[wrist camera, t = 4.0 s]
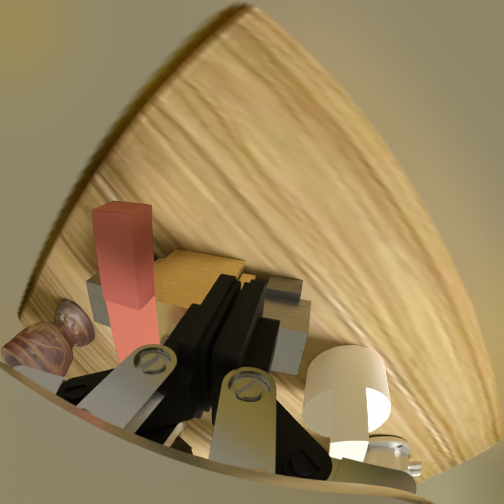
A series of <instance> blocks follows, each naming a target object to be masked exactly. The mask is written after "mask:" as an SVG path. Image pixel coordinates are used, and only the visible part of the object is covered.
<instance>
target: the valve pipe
mask: <svg viewBox="0 0 504 504" xmlns="http://www.w3.org/2000/svg"><path fill="white" fill-rule="evenodd" d="M153 256H154V272H155V286H156V294H155V302H156V312H157V321H158V330H159V338H160V345H163V344H164V343H165V342H166V340H167V339H168V337H169V336H170V334H171V333H172V331H173V330H174V328H175V327H176V326H177V324H178V323H179V321H180V320H181V318H182V317H183V315H184V314H185V313H186V311H187V310H188V308H189V307H190V306H191V304H193V303H195V304H201V303H202V301H203V300H204V298H205V297H206V295H207V294H208V292H209V291H210V289H211V288H212V286H213V285H214V283H215V282H216V280H217V278H218V277H219V275H220V274H227V275H232V276H236V278H237V280H238V281H241V289H242V287H243V285H244V283H245V282H249V283H250V281H251V279H256V276H255V275H249V274H244V271H245V261H244V260H238V259H232V258H226V257H220V256H215V255H209V254H203V253H198V252H192V251H186V250H181V249H175V250H174V251H173V252H172V253H171V254H170V255H168V256H167V257H166V258H165V259H163V258H159V259H157V260H156V261H155V254H153ZM302 283H303V280H297V279H291V278H285V277H279V276H273V275H271V276H270V279H269V281H268V284H267V287H266V294H265V302H264V310H263V317H265V318H271V319H276V320H280V327H279V333H278V339H277V344H276V349H275V354H274V358H273V363H272V367H271V371H276V372H281V373H287V374H292V375H297V374H298V370H299V367H300V363H301V359H302V355H303V351H304V347H305V343H306V339H307V335H308V328H309V318H310V308H311V301H307V300H302V299H300V296H301V290H302ZM86 285H87V290H88V295H89V300H90V304H91V309H92V313H93V317H94V321H95V322H98V323H100V324H103V325H106V326H109V327H111V324H110V320H109V315H108V310H107V305H106V300H104V298H103V293H102V287H101V281H100V275H99V272H98V273H97V274H95V275H94V276H93V277H91V278H90V279H89V280H87V281H86Z"/></svg>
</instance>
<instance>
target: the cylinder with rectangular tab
mask: <svg viewBox="0 0 504 504" xmlns="http://www.w3.org/2000/svg"><path fill="white" fill-rule="evenodd" d="M390 411H391V403H390V396H389V389H388V383H387V377H386V371H385V365H384V363H383V360H382V358H381V357H380V356H379V355H378V354H377V353H376V352H375V351H373V350H371V349H369V348H366V347H363V346H359V345H343V346H337V347H334V348H331V349H328V350H326V351H324V352H322V353H321V354H319V355H318V356H317V357H316V358H315V359H314V360H313V361H312V362H311V364H310V365H309V367H308V371H307V378H306V387H305V395H304V402H303V410H302V419H303V422H304V424H305V425H306V426H307V427H308V428H309V429H310V430H312V431H313V432H315V433H317V434H320V435H322V436H326V437H330V445H329V456H330V457H333V458H337V459H340V460H341V459H342V457H344V458H348V459H352V460H356V461H360V462H363V461H364V457H365V454H366V451H367V447H368V444H369V432H371V431H373V430H375V429H376V428H378V427H379V426H381V425H382V424H383V423H384V422H385V421H386V420H387V418H388V416H389V414H390Z"/></svg>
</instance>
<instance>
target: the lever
mask: <svg viewBox="0 0 504 504" xmlns="http://www.w3.org/2000/svg"><path fill="white" fill-rule="evenodd" d="M92 216H93V227H94V237H95V246H96V254H97V261H98V268H99V275H100V281H101V287H102V293H103V298H104V300H106V305H107V310H108V315H109V320H110V324H111V329H112V333H113V338H114V342H115V346H116V350H117V354H118V358H119V362H120V363H121V362H122V361H123V360H124V359H126V358H127V357H128V356H129V355H130V354H131V353H132V352H133V351H134V350H136V349H137V348H138V347H141V346H143V345H148V344H160V338H159V330H158V321H157V312H156V302H155V294H156V286H155V272H154V256H153V234H152V205H148V204H139V203H130V202H121V201H112V202H110V203H107V204H105V205H102V206H100V207H98V208H95V209H93V210H92Z"/></svg>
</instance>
